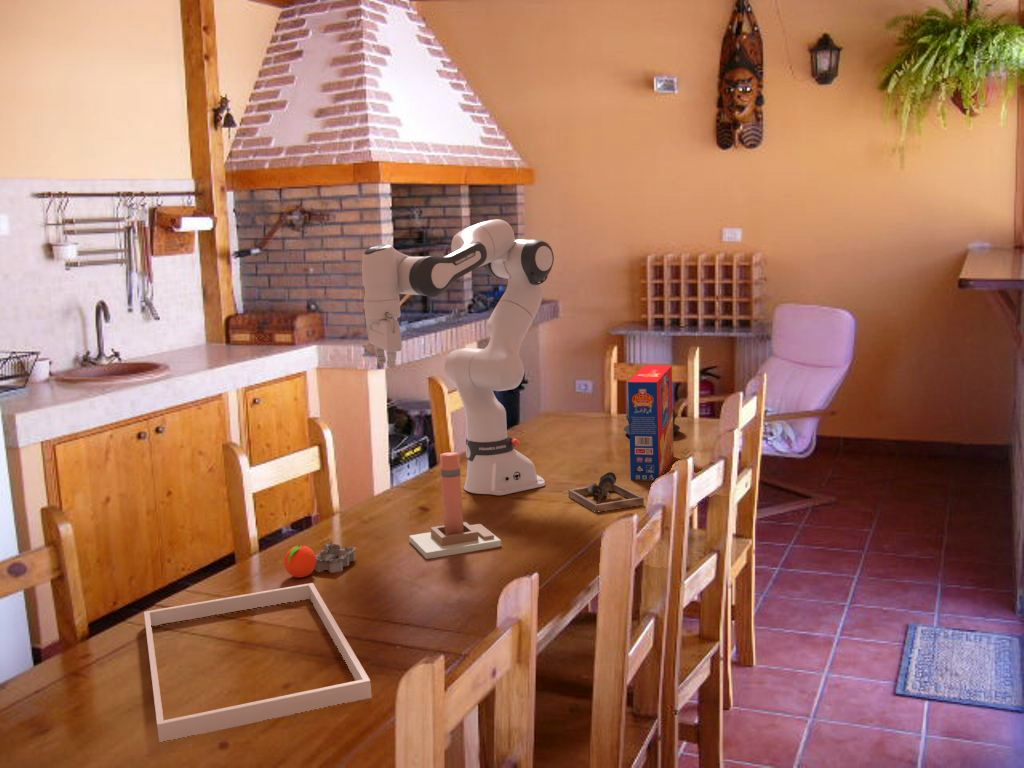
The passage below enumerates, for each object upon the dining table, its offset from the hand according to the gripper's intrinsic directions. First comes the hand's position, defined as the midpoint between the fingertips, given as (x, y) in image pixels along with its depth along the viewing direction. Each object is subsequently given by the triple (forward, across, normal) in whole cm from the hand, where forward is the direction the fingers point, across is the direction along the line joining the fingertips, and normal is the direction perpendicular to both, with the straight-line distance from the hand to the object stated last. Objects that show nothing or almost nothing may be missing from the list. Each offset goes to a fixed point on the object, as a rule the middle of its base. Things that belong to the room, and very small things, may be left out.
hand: (386, 365), depth 266 cm
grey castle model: (+39, -30, +22) cm, 55 cm away
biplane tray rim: (+39, -73, +47) cm, 95 cm away
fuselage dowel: (+38, -30, -6) cm, 48 cm away
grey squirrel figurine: (+40, -13, -53) cm, 67 cm away
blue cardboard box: (+40, +8, -79) cm, 88 cm away
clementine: (+39, -35, +31) cm, 61 cm away
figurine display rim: (+39, -16, -52) cm, 67 cm away
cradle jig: (+39, -30, -6) cm, 50 cm away
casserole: (+40, +47, -100) cm, 117 cm away
